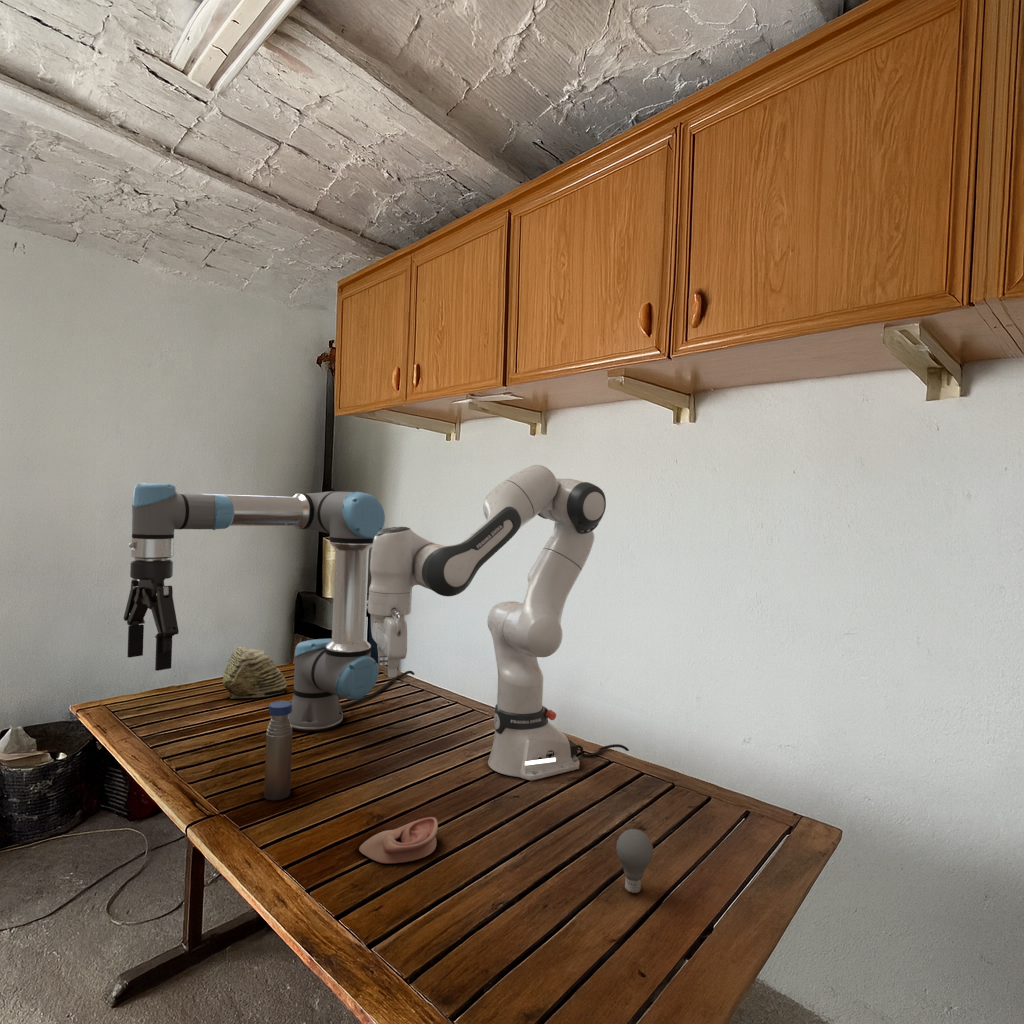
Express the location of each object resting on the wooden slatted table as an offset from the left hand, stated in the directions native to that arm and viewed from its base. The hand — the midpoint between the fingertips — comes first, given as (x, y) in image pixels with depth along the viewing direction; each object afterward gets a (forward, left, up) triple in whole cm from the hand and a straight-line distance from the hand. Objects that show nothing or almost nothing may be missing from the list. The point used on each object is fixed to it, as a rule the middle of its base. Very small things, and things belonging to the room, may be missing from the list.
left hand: (148, 662), depth 129 cm
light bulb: (-41, +90, -28) cm, 103 cm away
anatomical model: (-23, +52, -28) cm, 63 cm away
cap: (-19, +18, -9) cm, 28 cm away
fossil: (-50, -47, -28) cm, 74 cm away
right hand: (-32, +36, 0) cm, 48 cm away
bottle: (-19, +18, -28) cm, 38 cm away
